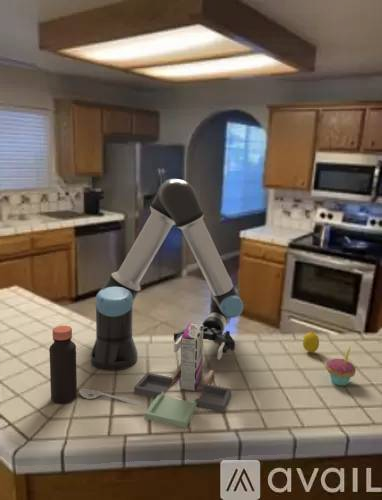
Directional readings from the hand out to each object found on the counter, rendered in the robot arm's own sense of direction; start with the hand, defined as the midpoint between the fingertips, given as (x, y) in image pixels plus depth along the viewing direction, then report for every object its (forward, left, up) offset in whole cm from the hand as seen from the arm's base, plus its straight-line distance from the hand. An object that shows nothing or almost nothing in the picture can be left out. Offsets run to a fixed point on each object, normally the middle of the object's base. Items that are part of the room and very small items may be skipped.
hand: (196, 351), depth 120 cm
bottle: (-31, -23, -9) cm, 40 cm away
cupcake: (+42, +14, -9) cm, 45 cm away
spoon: (-18, -19, -10) cm, 28 cm away
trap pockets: (-1, -10, -9) cm, 13 cm away
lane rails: (-1, -1, -9) cm, 9 cm away
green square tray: (-1, -18, -9) cm, 20 cm away
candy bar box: (-1, -2, -9) cm, 9 cm away
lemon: (+33, +32, -9) cm, 47 cm away
